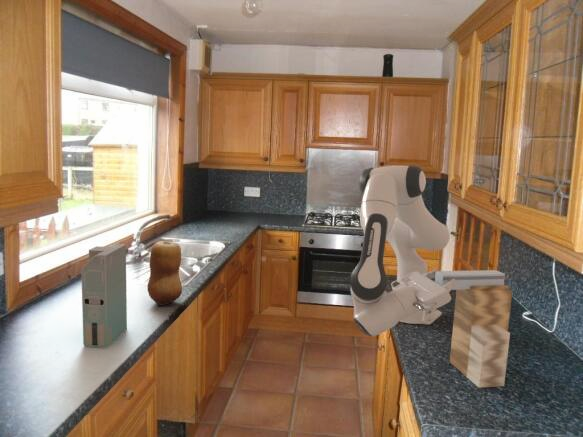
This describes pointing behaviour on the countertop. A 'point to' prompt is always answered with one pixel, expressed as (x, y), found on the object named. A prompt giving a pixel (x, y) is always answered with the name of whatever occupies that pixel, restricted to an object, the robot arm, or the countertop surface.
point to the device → (104, 296)
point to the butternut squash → (165, 272)
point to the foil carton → (470, 278)
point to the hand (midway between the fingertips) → (446, 276)
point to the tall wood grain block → (481, 334)
